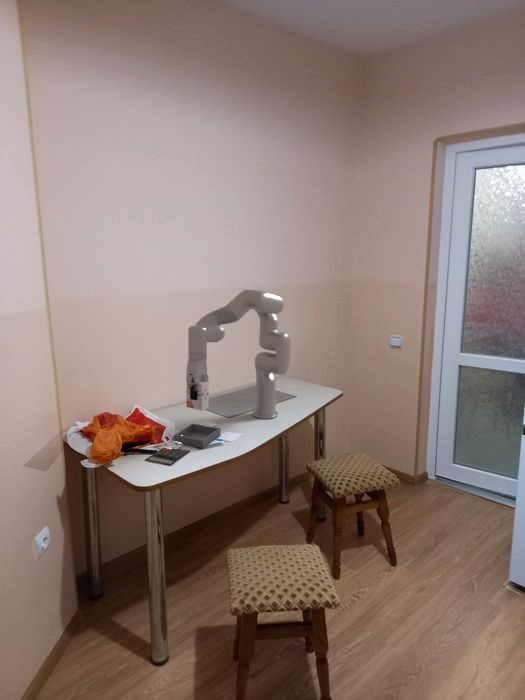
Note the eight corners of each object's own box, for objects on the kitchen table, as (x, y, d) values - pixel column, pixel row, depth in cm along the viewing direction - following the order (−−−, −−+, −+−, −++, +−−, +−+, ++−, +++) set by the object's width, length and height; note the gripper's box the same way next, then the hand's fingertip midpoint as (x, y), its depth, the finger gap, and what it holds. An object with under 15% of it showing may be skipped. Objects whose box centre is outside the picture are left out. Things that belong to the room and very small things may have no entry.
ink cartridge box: (185, 407, 214) (185, 373, 211) (193, 404, 218) (193, 371, 215) (201, 411, 209) (201, 376, 206) (209, 408, 214) (209, 374, 211)
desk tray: (192, 431, 226) (192, 423, 226) (220, 436, 221) (220, 428, 221) (173, 443, 212) (173, 435, 211) (202, 449, 207) (203, 440, 206)
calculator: (190, 450, 204) (170, 464, 190) (190, 452, 204) (170, 467, 190) (165, 445, 208) (144, 459, 194) (165, 447, 208) (144, 461, 194)
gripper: (199, 351, 218) (199, 391, 222) (178, 358, 203) (178, 401, 206) (215, 352, 216) (214, 393, 219) (195, 360, 200) (195, 404, 204)
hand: (197, 397), depth 213 cm, fingers closed on ink cartridge box, 5 cm apart
